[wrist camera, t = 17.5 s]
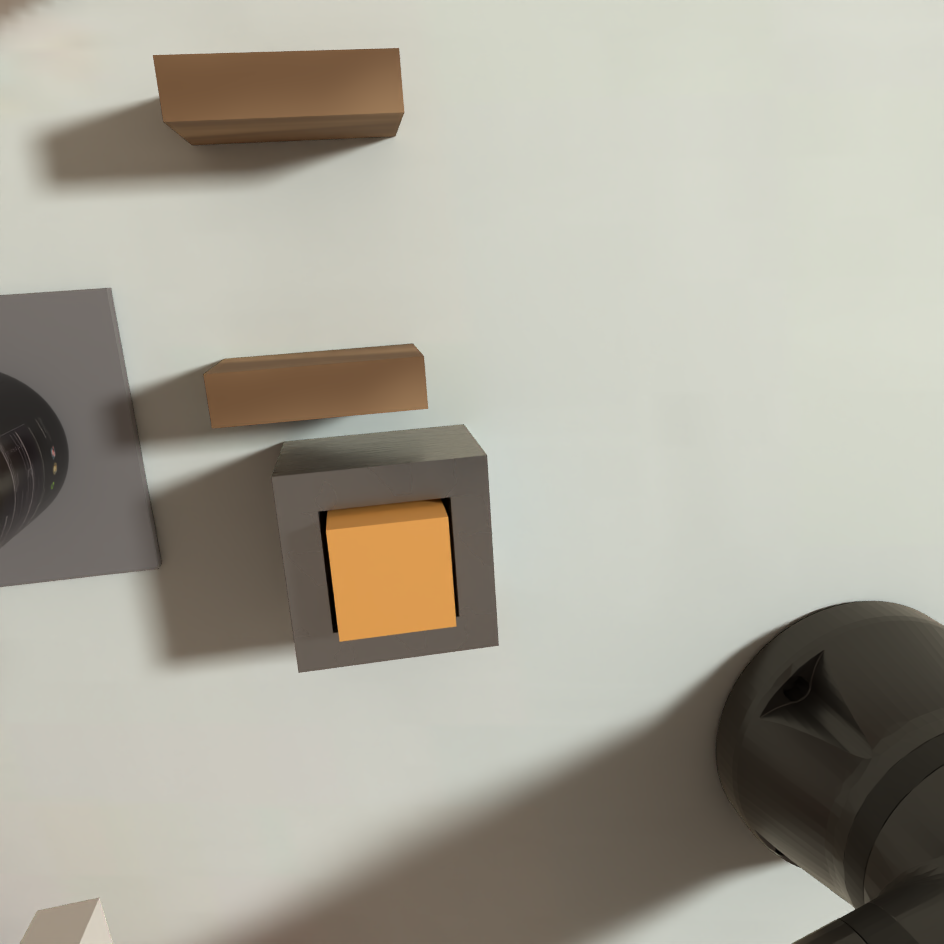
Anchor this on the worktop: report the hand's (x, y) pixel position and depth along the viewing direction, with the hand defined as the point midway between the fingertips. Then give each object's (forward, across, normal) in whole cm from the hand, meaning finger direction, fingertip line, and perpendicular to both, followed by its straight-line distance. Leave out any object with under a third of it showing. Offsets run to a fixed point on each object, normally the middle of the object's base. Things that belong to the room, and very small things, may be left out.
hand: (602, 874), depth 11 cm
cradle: (+25, +4, -10) cm, 27 cm away
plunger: (+24, +3, +2) cm, 24 cm away
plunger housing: (+25, +3, +2) cm, 26 cm away
